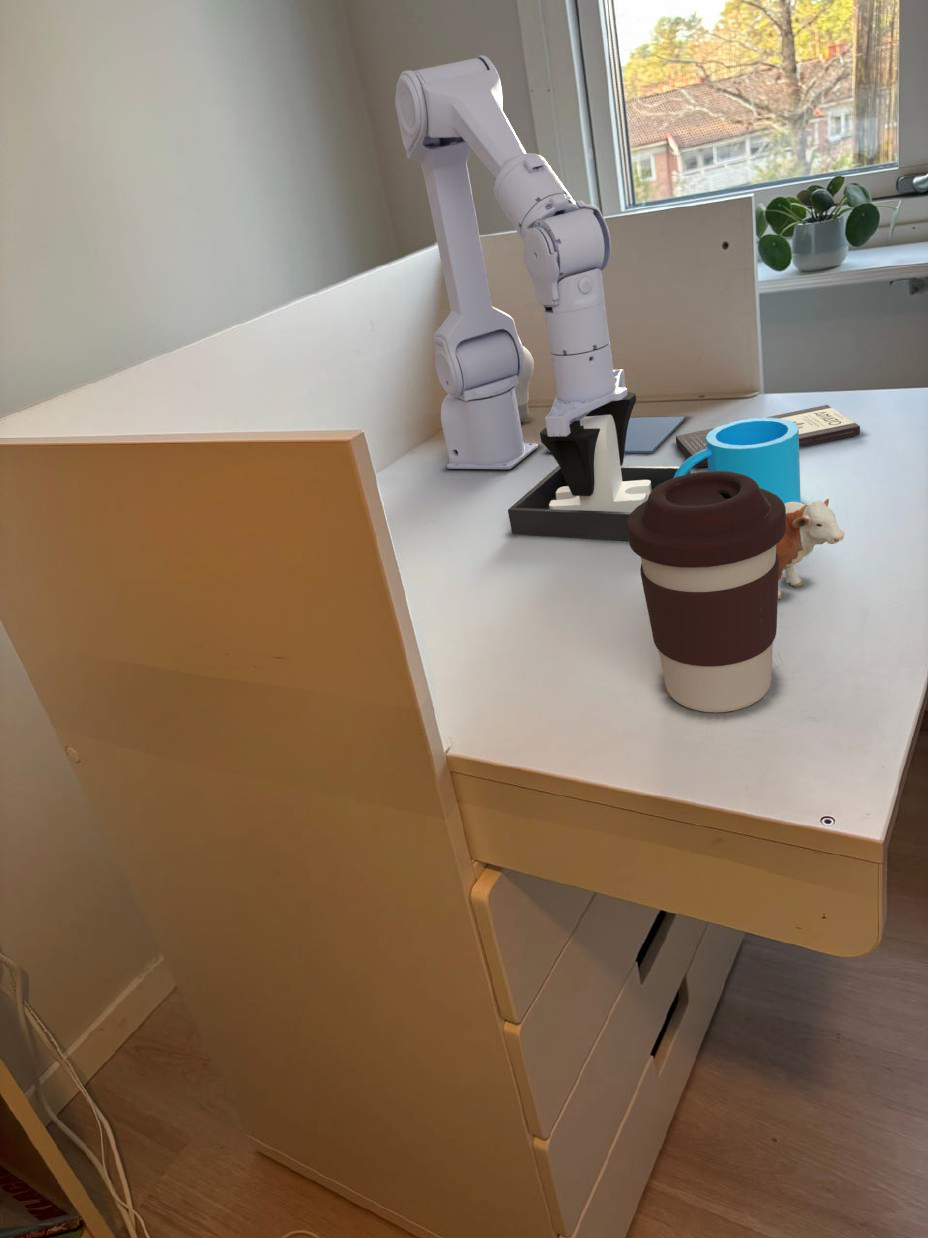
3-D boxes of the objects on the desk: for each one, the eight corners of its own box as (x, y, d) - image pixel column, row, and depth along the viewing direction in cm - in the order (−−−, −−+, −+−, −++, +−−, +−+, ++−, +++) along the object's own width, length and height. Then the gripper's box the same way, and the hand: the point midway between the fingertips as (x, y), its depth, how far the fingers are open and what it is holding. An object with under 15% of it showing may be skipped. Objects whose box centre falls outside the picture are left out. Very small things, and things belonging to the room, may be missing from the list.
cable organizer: (646, 517, 93) (635, 421, 88) (550, 523, 96) (535, 431, 92) (653, 497, 97) (643, 404, 92) (561, 502, 101) (547, 413, 96)
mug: (782, 490, 93) (779, 411, 89) (814, 520, 86) (813, 436, 82) (664, 515, 93) (656, 437, 89) (686, 547, 86) (678, 464, 82)
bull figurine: (842, 609, 71) (841, 512, 68) (671, 600, 78) (661, 511, 74) (850, 582, 75) (849, 488, 71) (684, 576, 81) (676, 489, 77)
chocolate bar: (675, 435, 110) (827, 404, 109) (676, 443, 110) (827, 412, 109) (696, 459, 102) (860, 426, 101) (696, 467, 102) (859, 434, 101)
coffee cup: (631, 720, 64) (605, 523, 57) (664, 646, 72) (644, 463, 65) (781, 733, 60) (772, 521, 53) (800, 652, 67) (794, 457, 60)
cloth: (546, 453, 117) (546, 450, 117) (585, 420, 125) (585, 418, 125) (652, 453, 109) (651, 450, 109) (685, 418, 118) (685, 416, 118)
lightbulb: (513, 432, 127) (499, 352, 122) (492, 424, 132) (477, 347, 127) (550, 418, 129) (538, 339, 124) (528, 411, 134) (515, 335, 129)
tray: (512, 534, 97) (507, 509, 95) (562, 488, 105) (558, 465, 104) (650, 542, 88) (647, 515, 87) (692, 491, 97) (690, 466, 96)
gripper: (587, 367, 82) (606, 509, 88) (647, 323, 92) (660, 453, 98) (517, 371, 85) (540, 507, 92) (582, 328, 96) (599, 453, 102)
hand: (598, 479), depth 95 cm, fingers open, 7 cm apart
